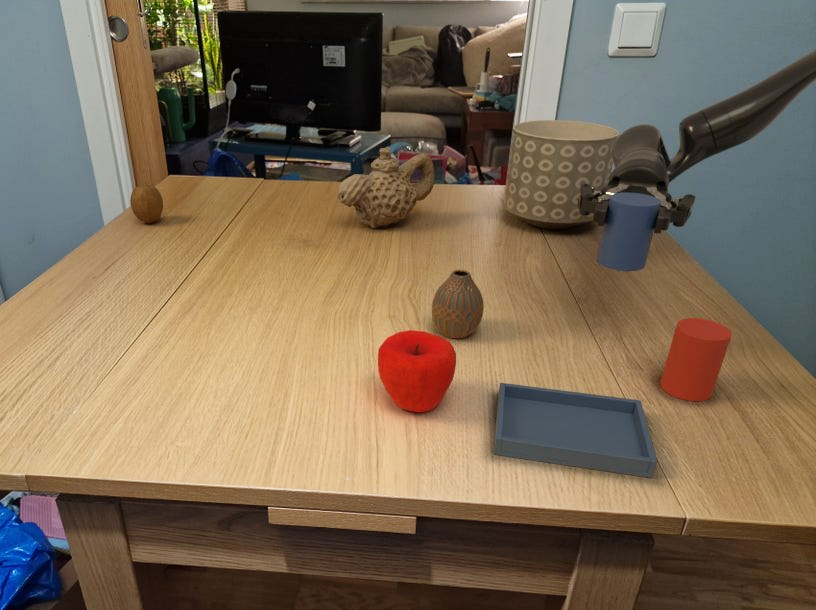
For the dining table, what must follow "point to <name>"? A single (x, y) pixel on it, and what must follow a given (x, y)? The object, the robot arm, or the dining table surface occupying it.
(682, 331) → the red canister
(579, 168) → the planter
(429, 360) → the apple
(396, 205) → the teapot
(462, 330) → the vase
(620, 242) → the blue canister
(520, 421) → the blue tray
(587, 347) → the dining table surface
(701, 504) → the dining table surface
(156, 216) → the fruit
